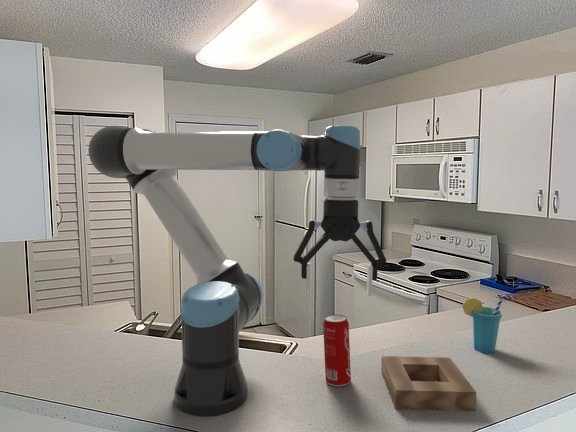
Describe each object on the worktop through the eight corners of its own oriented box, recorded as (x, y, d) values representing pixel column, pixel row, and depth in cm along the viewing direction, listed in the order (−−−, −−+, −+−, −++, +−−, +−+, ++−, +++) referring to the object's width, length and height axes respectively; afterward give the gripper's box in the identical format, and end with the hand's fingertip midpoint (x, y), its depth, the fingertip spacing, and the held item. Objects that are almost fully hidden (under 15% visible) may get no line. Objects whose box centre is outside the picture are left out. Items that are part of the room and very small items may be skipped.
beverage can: (350, 389, 96) (351, 323, 95) (320, 386, 98) (321, 320, 96) (351, 376, 102) (353, 314, 101) (323, 373, 104) (324, 312, 102)
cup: (503, 342, 123) (506, 290, 121) (520, 354, 115) (524, 298, 114) (455, 344, 121) (458, 291, 120) (469, 356, 114) (473, 300, 112)
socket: (395, 408, 89) (395, 390, 88) (381, 372, 105) (381, 356, 104) (475, 411, 88) (476, 392, 88) (449, 373, 104) (449, 357, 104)
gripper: (283, 198, 92) (281, 297, 94) (402, 200, 91) (398, 299, 94) (284, 196, 100) (283, 287, 102) (395, 198, 99) (391, 289, 101)
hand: (338, 293), depth 98 cm, fingers open, 13 cm apart
